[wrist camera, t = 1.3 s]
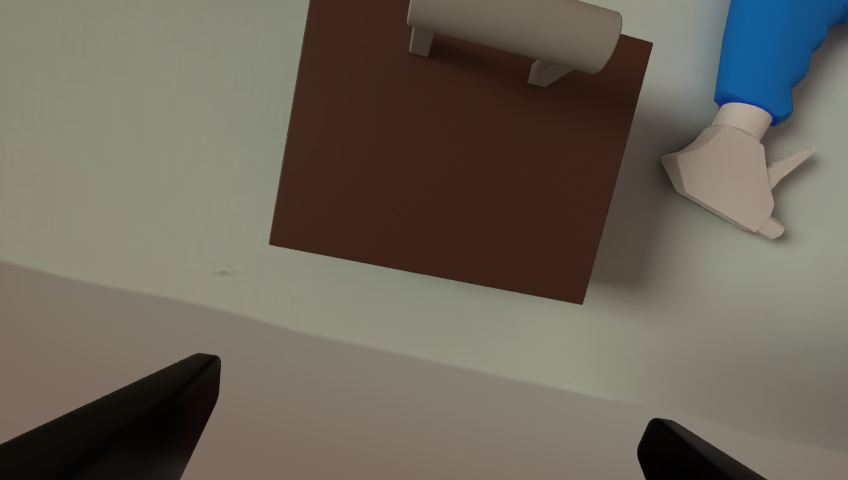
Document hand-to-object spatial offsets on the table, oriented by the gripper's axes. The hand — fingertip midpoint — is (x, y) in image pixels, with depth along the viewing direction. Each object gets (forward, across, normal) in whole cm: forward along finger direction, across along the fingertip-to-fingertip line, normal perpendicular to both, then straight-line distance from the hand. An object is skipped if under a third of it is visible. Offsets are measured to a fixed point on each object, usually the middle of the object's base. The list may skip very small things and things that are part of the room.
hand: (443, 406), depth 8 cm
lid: (+9, -1, -5) cm, 10 cm away
